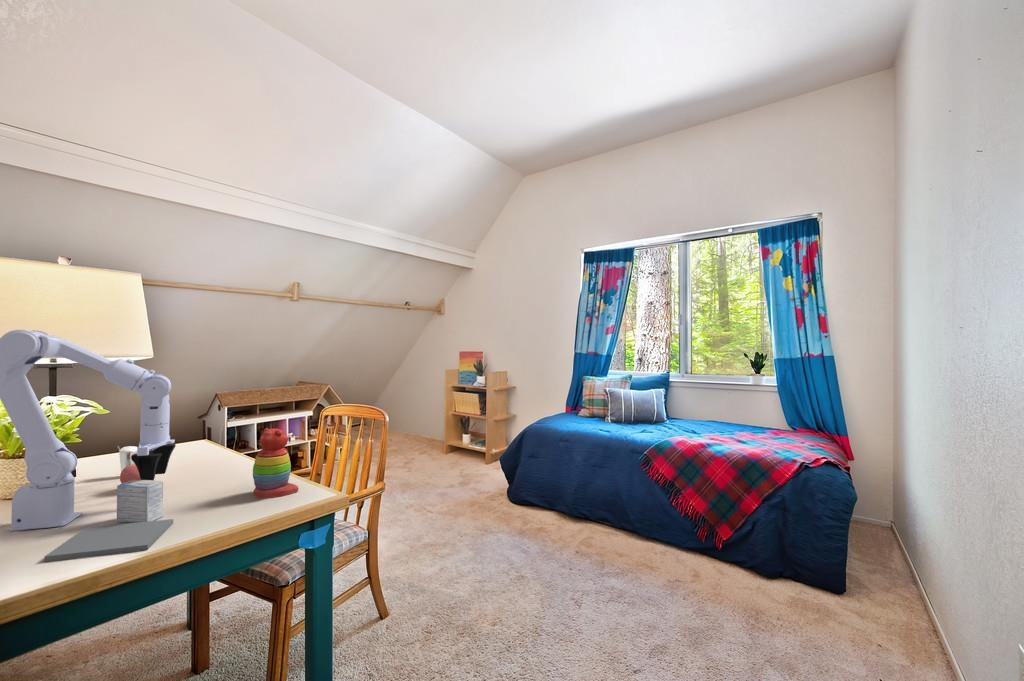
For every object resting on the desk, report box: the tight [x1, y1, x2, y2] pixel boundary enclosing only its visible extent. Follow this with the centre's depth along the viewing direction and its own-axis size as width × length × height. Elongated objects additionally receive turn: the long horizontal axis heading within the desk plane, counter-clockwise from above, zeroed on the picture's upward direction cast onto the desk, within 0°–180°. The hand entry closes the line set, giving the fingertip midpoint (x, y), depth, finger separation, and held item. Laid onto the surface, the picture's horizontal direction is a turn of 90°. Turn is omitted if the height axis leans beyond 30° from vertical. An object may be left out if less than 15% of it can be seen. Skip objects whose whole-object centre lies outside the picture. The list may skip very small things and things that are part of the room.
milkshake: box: [117, 445, 138, 473], centre depth 138 cm, size 4×5×10 cm
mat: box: [43, 518, 174, 563], centre depth 94 cm, size 16×14×1 cm
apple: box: [119, 464, 141, 484], centre depth 127 cm, size 7×7×8 cm
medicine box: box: [116, 479, 164, 523], centre depth 106 cm, size 8×4×9 cm, turn 84°
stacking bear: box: [252, 427, 300, 499], centre depth 126 cm, size 11×10×18 cm
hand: (154, 478), depth 113 cm, fingers open, 7 cm apart
